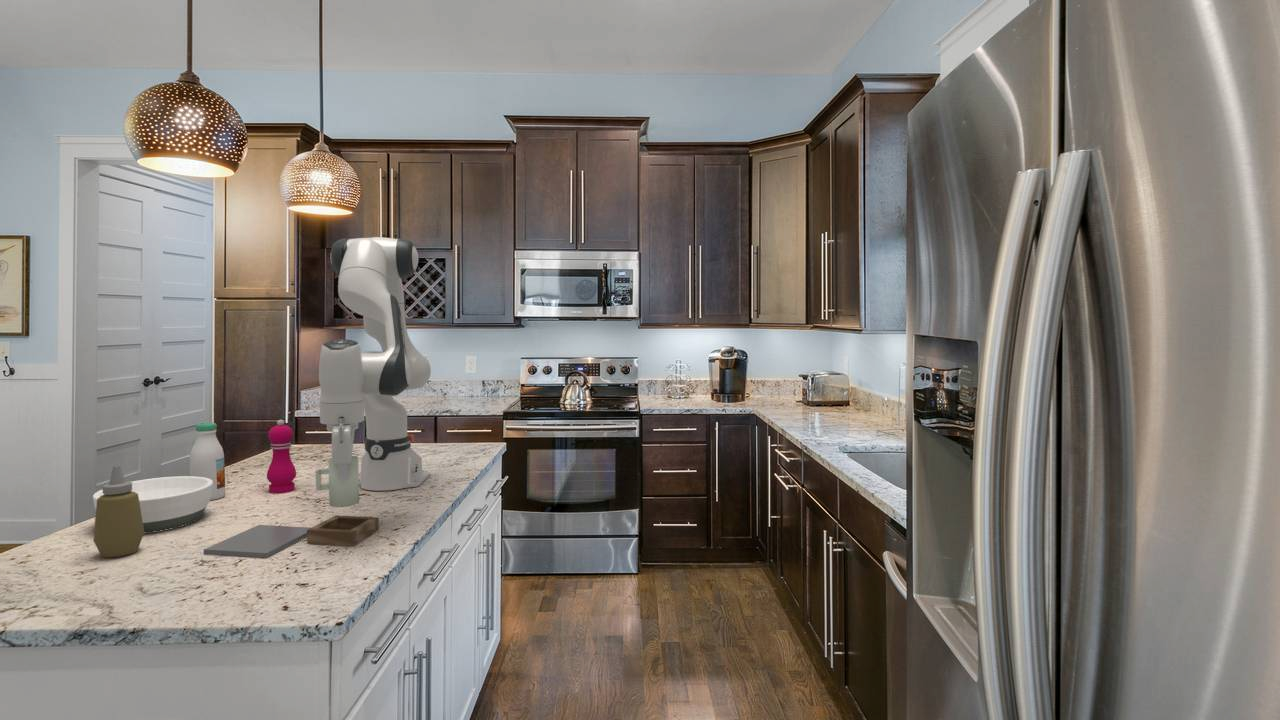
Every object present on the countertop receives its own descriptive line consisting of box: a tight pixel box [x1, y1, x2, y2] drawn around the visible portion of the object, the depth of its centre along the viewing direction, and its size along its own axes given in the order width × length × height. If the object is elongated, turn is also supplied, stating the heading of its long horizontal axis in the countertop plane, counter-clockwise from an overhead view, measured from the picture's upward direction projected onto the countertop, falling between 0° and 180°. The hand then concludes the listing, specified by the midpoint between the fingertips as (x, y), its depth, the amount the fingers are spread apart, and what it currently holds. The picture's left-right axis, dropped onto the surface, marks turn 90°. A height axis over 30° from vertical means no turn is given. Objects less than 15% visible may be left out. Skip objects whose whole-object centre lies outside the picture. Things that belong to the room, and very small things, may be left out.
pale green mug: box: [315, 455, 360, 508], centre depth 141 cm, size 8×6×10 cm
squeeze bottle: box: [93, 465, 145, 558], centre depth 130 cm, size 8×8×18 cm
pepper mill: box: [266, 419, 297, 494], centre depth 178 cm, size 7×7×20 cm
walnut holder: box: [306, 515, 380, 547], centre depth 141 cm, size 10×10×3 cm
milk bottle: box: [189, 422, 226, 501], centre depth 170 cm, size 8×8×20 cm
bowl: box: [92, 475, 213, 533], centre depth 150 cm, size 22×22×8 cm
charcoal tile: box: [203, 524, 312, 559], centre depth 137 cm, size 16×14×1 cm
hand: (343, 475), depth 141 cm, fingers closed on pale green mug, 6 cm apart
